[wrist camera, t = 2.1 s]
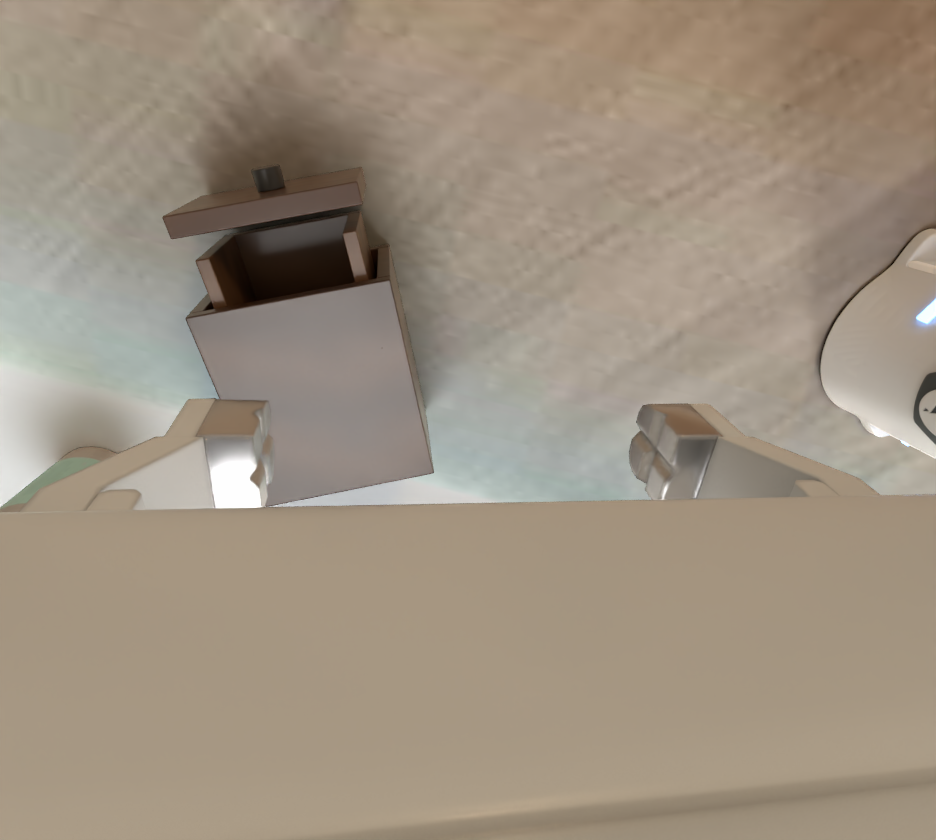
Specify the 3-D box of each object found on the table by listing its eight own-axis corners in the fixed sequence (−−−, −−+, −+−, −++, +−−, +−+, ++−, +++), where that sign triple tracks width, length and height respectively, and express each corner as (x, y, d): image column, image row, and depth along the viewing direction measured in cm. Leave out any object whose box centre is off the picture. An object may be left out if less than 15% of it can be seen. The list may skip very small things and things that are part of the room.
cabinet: (224, 274, 39) (184, 318, 32) (389, 243, 40) (390, 279, 32) (285, 438, 46) (265, 507, 38) (425, 410, 47) (434, 473, 39)
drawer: (192, 175, 35) (151, 192, 29) (357, 146, 36) (351, 156, 29) (265, 372, 42) (244, 420, 36) (402, 345, 43) (406, 388, 36)
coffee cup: (18, 441, 43) (-97, 548, 33) (131, 422, 44) (53, 523, 34) (70, 526, 48) (-17, 645, 37) (173, 509, 48) (115, 621, 38)
